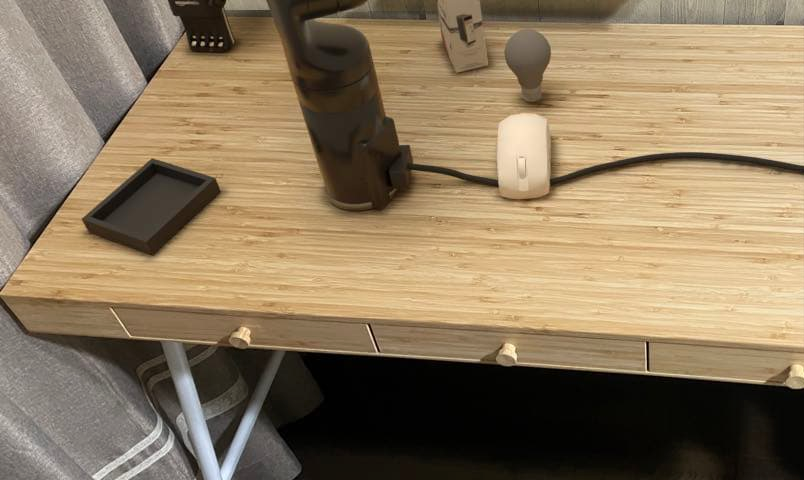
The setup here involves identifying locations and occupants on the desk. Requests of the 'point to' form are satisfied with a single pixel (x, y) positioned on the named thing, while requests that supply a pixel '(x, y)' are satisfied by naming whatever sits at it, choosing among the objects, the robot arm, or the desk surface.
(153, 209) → the dock pad
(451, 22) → the ink box
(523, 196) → the computer mouse
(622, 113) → the desk surface
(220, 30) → the battery charger
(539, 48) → the light bulb
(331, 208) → the desk surface
